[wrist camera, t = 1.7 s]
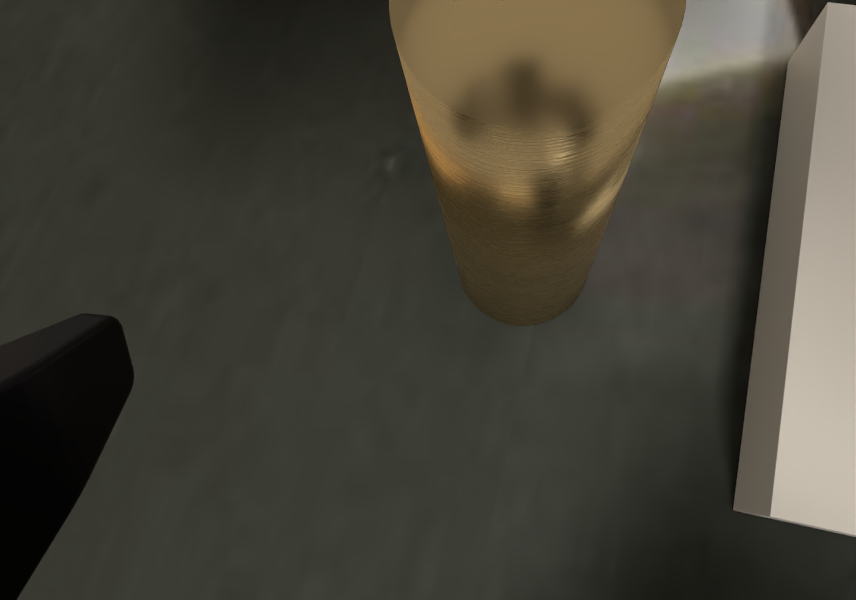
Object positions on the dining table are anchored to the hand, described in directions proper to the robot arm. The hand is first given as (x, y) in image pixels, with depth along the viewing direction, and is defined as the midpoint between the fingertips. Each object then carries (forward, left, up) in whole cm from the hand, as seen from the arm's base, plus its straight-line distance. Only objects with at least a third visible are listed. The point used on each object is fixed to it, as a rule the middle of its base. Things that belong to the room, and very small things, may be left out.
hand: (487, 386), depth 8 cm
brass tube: (0, -5, -13) cm, 14 cm away
